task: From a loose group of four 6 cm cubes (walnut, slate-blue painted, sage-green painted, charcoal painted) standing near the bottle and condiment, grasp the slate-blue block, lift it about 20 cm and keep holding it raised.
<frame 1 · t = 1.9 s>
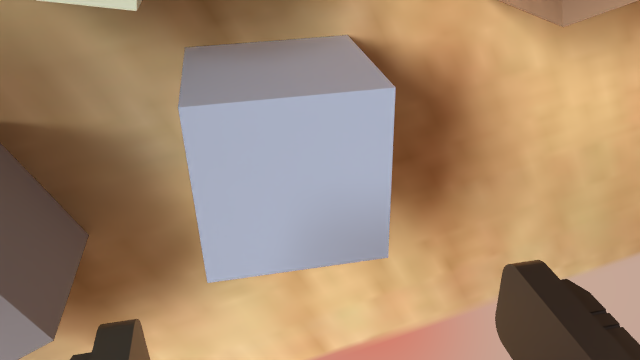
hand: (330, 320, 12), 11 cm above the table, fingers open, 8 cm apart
slate blue block: (273, 116, 21), on the table
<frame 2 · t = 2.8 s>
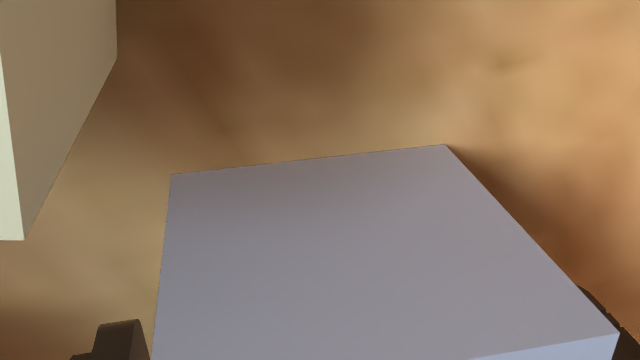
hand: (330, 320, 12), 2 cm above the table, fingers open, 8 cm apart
slate blue block: (317, 266, 13), on the table
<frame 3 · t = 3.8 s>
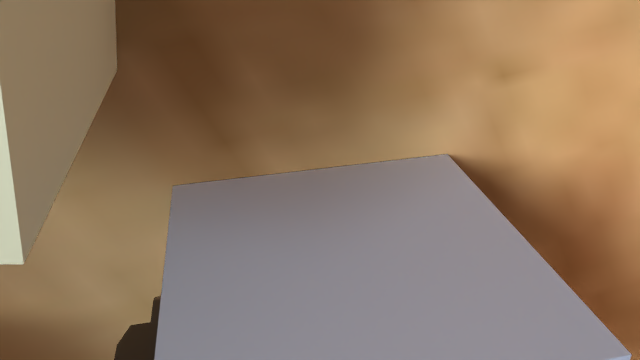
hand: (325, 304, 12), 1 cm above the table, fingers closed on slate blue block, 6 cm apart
slate blue block: (319, 279, 13), on the table, touching gripper
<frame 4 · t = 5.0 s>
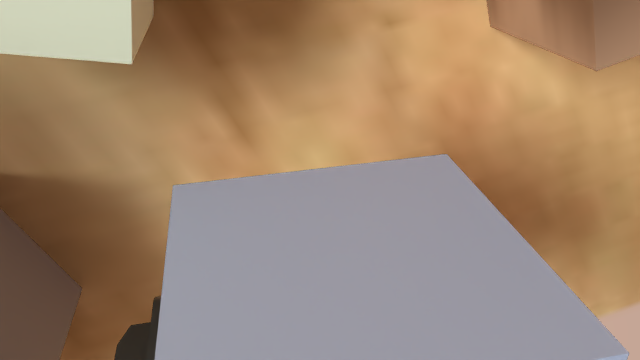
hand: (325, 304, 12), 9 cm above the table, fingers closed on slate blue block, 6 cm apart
slate blue block: (319, 278, 13), point 8 cm above the table, touching gripper
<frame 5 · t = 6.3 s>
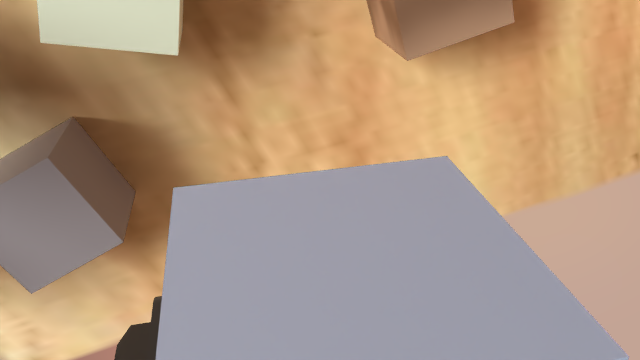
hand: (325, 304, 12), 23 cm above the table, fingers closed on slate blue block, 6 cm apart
slate blue block: (319, 280, 13), point 22 cm above the table, touching gripper
charcoal block: (64, 178, 34), on the table
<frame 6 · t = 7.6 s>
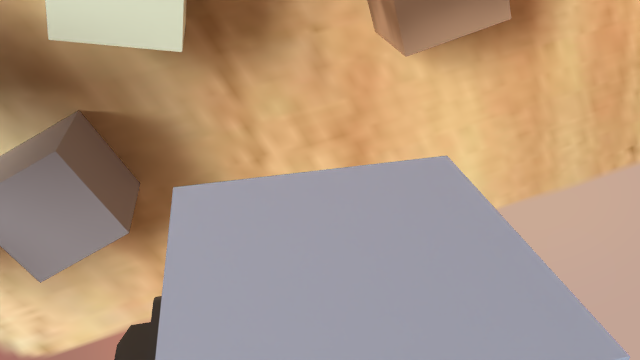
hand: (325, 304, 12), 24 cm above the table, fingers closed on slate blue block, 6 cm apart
slate blue block: (319, 280, 13), point 23 cm above the table, touching gripper
charcoal block: (71, 170, 34), on the table
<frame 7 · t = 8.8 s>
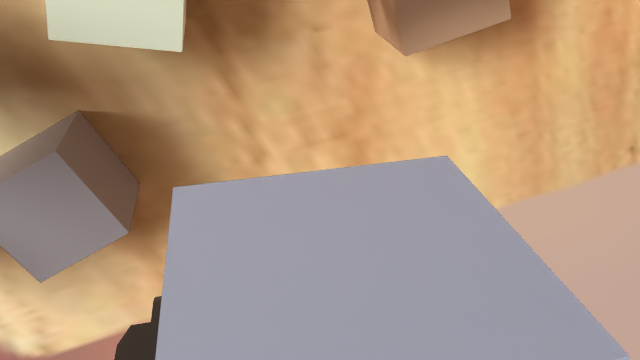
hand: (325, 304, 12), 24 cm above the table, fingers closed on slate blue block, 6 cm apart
slate blue block: (319, 280, 13), point 23 cm above the table, touching gripper
charcoal block: (71, 170, 34), on the table
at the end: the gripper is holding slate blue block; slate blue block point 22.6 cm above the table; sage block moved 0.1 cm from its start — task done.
